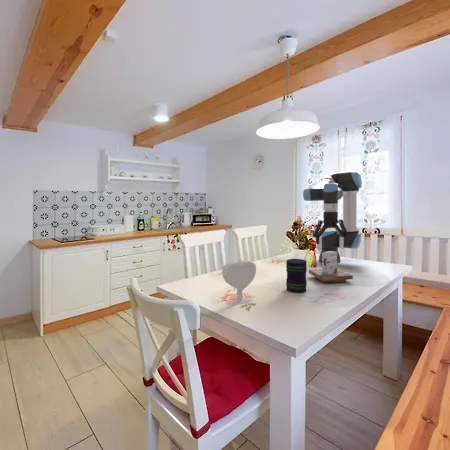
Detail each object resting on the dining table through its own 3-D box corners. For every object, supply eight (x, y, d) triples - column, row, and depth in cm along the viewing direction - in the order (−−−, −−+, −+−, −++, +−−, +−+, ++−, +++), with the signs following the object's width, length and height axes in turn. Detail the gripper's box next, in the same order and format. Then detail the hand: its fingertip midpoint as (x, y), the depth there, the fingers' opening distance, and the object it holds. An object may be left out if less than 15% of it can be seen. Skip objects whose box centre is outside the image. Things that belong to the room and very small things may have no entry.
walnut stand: (308, 276, 160) (308, 269, 160) (335, 274, 163) (335, 268, 162) (323, 284, 143) (323, 277, 143) (352, 282, 146) (352, 275, 146)
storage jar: (301, 286, 141) (301, 258, 140) (310, 292, 131) (310, 262, 130) (283, 287, 139) (283, 259, 138) (290, 293, 130) (290, 263, 129)
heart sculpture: (227, 306, 115) (226, 265, 114) (221, 302, 120) (221, 262, 118) (257, 300, 122) (257, 260, 121) (251, 296, 127) (250, 259, 125)
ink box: (329, 270, 157) (329, 250, 156) (337, 272, 153) (337, 251, 153) (321, 273, 152) (321, 252, 151) (329, 274, 148) (329, 253, 147)
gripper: (312, 212, 144) (312, 251, 146) (355, 210, 148) (354, 248, 150) (306, 211, 152) (306, 248, 154) (347, 210, 156) (346, 246, 157)
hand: (330, 249), depth 152 cm, fingers open, 13 cm apart
